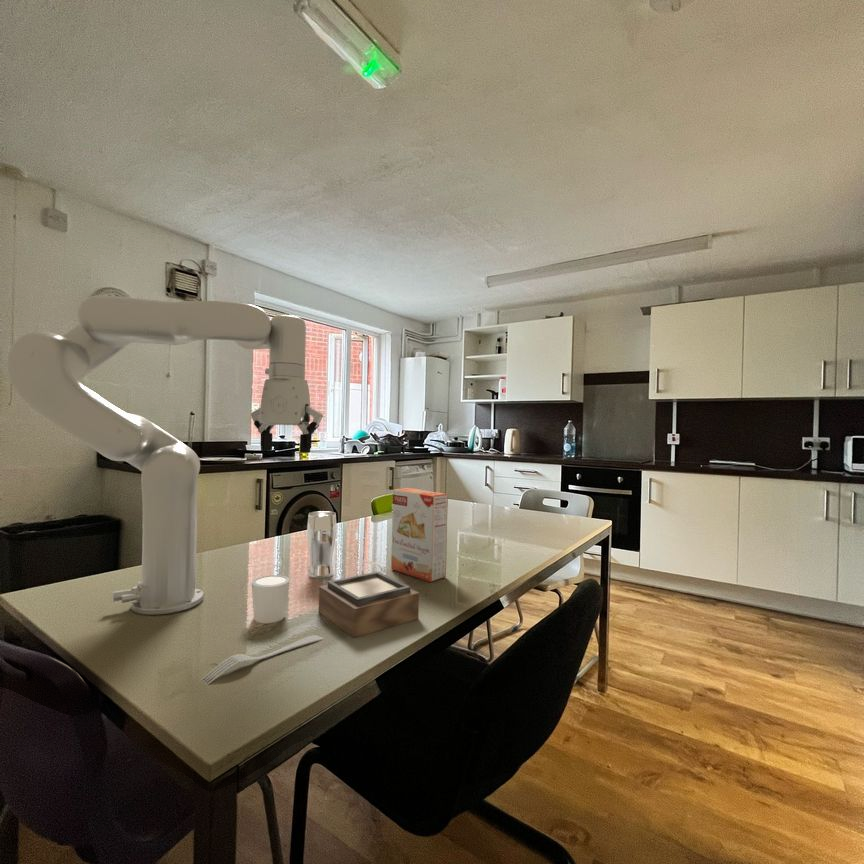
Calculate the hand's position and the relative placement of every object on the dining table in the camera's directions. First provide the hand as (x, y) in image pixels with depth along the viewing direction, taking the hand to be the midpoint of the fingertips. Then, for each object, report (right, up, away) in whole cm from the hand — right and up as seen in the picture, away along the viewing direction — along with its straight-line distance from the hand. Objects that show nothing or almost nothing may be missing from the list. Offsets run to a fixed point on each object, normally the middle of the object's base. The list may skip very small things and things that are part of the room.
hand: (285, 451), depth 102 cm
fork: (+6, -32, -29) cm, 43 cm away
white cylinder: (+1, -31, -14) cm, 34 cm away
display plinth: (+20, -31, -12) cm, 39 cm away
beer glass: (+5, -31, +12) cm, 34 cm away
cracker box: (+29, -32, +15) cm, 45 cm away
